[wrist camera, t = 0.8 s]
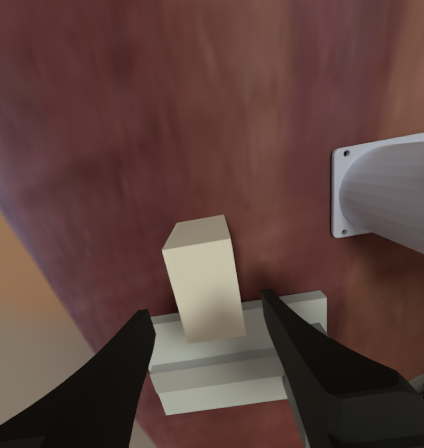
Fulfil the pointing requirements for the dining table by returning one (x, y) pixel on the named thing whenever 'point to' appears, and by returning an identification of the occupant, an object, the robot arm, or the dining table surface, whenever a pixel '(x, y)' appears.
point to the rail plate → (228, 362)
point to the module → (204, 279)
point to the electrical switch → (418, 384)
